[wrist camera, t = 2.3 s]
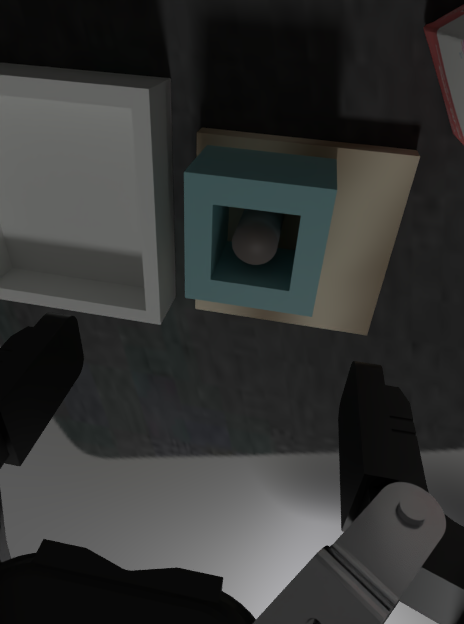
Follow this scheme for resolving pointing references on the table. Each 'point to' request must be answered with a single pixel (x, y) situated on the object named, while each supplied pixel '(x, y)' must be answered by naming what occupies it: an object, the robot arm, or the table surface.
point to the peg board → (343, 229)
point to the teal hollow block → (265, 197)
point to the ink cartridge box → (450, 64)
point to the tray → (87, 191)
